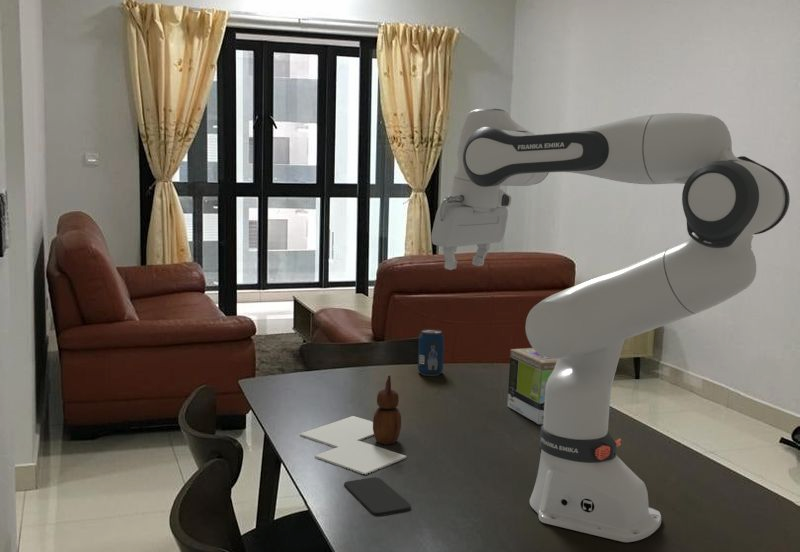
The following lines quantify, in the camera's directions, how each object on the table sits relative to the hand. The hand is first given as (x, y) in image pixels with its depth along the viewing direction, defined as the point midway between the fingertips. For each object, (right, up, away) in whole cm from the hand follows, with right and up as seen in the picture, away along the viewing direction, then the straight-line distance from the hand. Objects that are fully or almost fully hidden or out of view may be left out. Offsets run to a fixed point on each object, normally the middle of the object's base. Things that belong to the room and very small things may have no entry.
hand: (464, 267), depth 162 cm
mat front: (-24, -36, +24) cm, 49 cm away
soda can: (-4, -29, +74) cm, 80 cm away
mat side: (-20, -38, +9) cm, 44 cm away
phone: (-16, -42, -10) cm, 46 cm away
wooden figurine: (-15, -37, +19) cm, 44 cm away
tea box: (+21, -35, +41) cm, 57 cm away
